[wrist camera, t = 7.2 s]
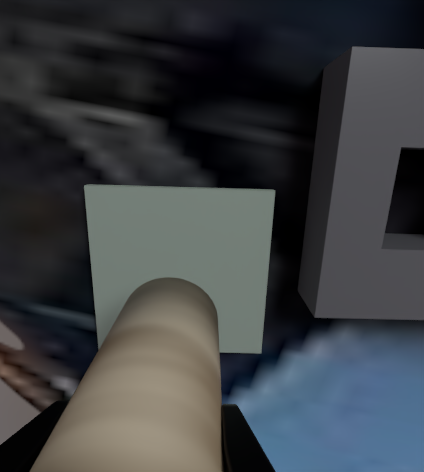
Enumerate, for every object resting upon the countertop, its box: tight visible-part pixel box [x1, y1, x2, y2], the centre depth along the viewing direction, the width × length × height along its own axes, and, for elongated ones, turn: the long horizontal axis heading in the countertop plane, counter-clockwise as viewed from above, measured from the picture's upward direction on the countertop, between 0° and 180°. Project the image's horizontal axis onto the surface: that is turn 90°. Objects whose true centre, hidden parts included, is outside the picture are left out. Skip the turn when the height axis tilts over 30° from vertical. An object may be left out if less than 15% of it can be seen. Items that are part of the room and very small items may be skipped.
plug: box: [30, 277, 224, 472], centre depth 9 cm, size 4×4×7 cm
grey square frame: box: [298, 47, 424, 320], centre depth 15 cm, size 12×10×3 cm
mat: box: [84, 184, 275, 353], centre depth 17 cm, size 10×10×1 cm
